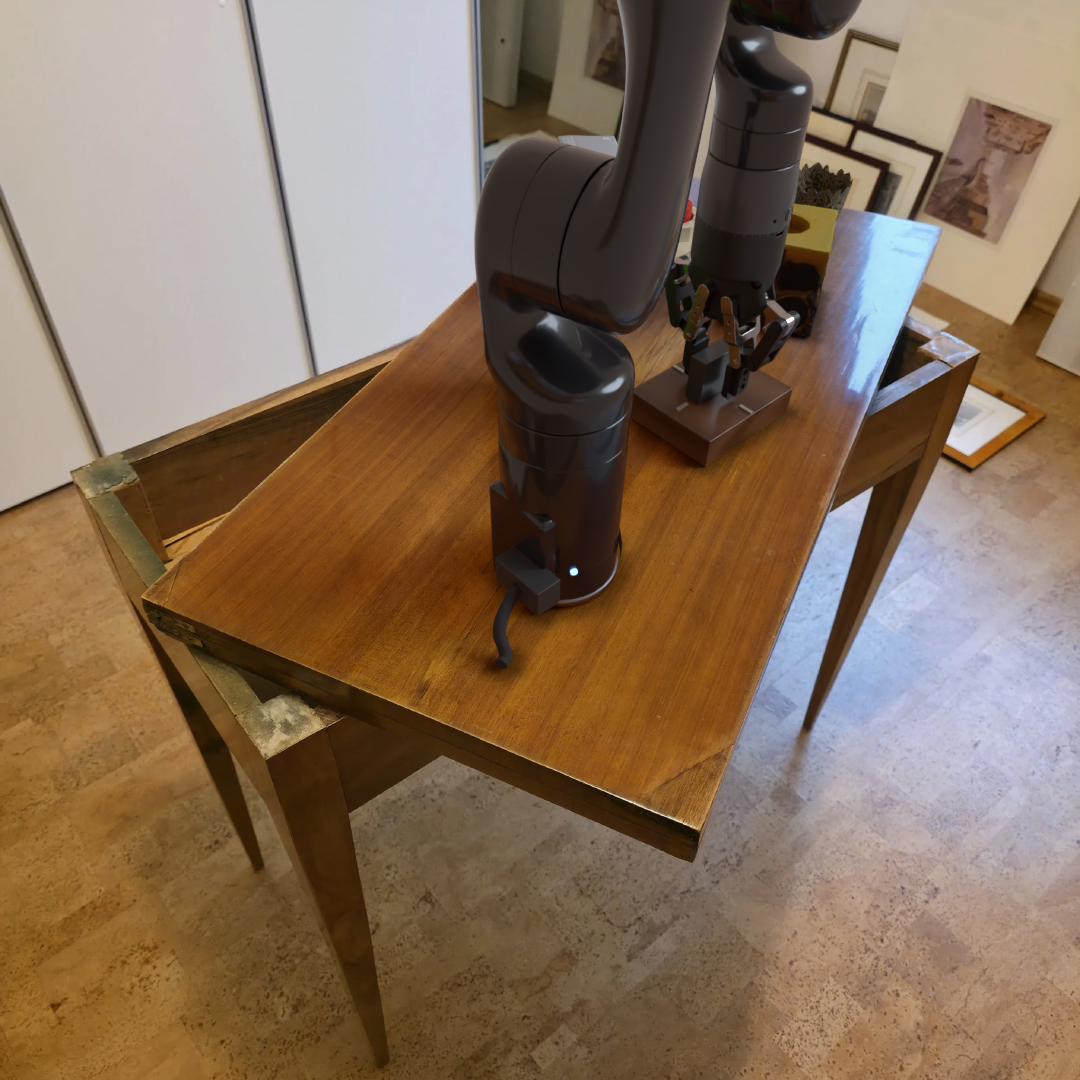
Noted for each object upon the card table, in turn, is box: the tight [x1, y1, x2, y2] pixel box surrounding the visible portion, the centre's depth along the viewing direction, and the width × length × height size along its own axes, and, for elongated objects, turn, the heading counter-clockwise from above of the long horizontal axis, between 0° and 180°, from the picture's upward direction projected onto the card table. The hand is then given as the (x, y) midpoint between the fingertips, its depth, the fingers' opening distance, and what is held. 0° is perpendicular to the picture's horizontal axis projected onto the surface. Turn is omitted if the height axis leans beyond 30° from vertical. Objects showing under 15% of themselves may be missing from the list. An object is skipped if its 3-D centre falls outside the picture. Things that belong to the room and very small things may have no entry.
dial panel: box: [631, 343, 793, 468], centre depth 84 cm, size 12×10×3 cm
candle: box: [760, 204, 838, 338], centre depth 95 cm, size 10×10×10 cm
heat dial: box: [685, 337, 730, 405], centre depth 81 cm, size 6×2×5 cm, turn 131°
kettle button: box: [683, 199, 694, 223], centre depth 105 cm, size 4×4×2 cm
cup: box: [794, 161, 854, 222], centre depth 106 cm, size 8×7×8 cm
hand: (712, 382), depth 82 cm, fingers open, 4 cm apart
